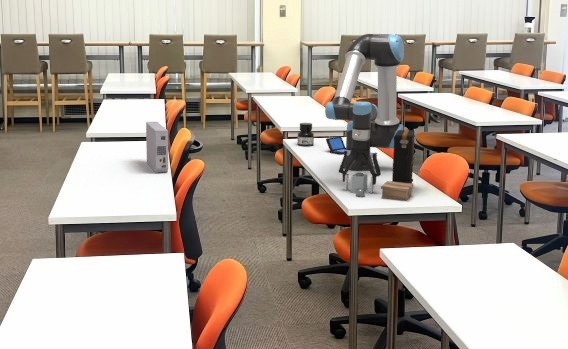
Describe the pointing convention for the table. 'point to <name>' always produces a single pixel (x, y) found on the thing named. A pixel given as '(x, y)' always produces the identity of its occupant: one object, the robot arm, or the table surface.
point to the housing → (358, 182)
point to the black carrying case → (403, 156)
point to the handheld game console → (336, 145)
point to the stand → (396, 190)
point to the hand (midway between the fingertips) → (358, 190)
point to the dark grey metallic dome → (360, 192)
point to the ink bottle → (305, 135)
